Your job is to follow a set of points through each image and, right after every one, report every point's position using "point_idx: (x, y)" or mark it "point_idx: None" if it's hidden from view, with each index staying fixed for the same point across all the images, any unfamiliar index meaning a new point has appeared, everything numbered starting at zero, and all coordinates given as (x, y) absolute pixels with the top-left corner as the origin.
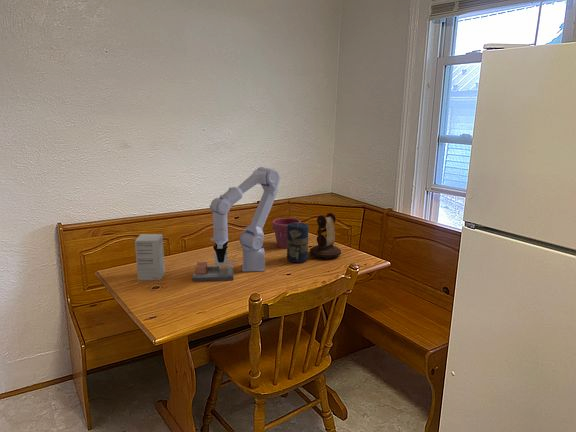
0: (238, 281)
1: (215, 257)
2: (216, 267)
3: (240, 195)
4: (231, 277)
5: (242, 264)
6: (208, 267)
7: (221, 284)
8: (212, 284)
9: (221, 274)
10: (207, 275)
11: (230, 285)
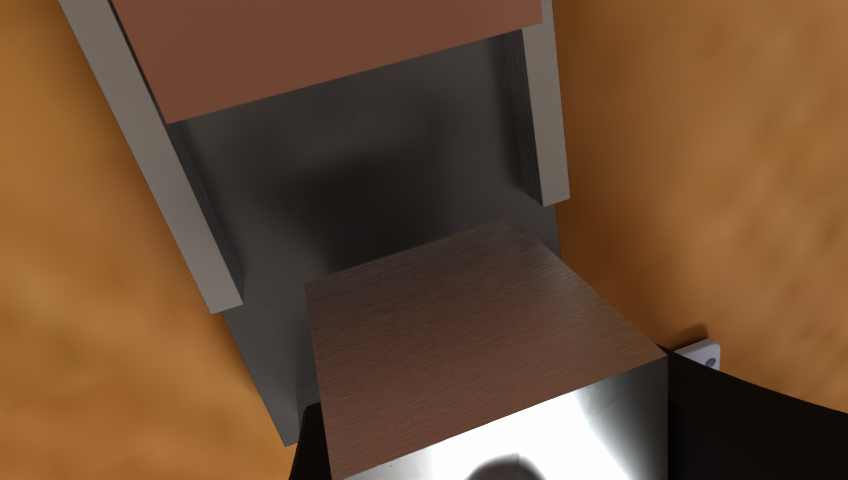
0: (267, 468)
1: (330, 425)
2: (530, 162)
3: None
4: (277, 425)
5: (711, 346)
6: (516, 33)
7: (103, 349)
8: (49, 243)
9: None
10: (134, 151)
11: (116, 447)
